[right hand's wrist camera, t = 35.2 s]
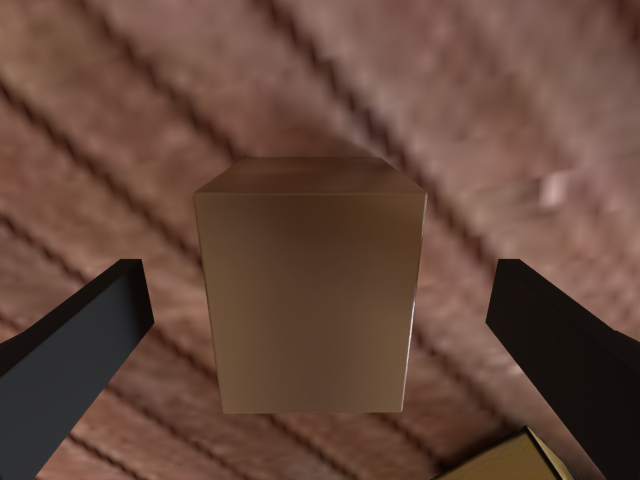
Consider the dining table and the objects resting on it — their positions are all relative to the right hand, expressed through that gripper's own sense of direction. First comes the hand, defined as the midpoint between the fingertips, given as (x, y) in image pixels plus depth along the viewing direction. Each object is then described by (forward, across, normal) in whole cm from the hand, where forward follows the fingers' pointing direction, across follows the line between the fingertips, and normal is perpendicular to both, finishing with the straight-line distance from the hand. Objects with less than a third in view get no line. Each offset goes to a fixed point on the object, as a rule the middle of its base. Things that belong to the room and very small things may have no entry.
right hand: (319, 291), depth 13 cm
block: (+5, 0, 0) cm, 5 cm away
